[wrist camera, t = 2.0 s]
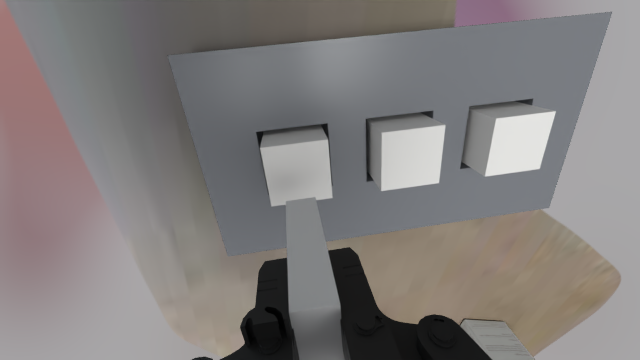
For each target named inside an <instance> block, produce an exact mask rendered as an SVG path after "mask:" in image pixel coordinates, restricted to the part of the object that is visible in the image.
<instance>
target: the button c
mask: <svg viewBox="0 0 640 360" xmlns="http://www.w3.org/2000/svg"><path fill="white" fill-rule="evenodd" d="M555 113H556V111H553V110H549V109H545V108H541V107H537V106H532V105H528V104H524V103H520V102H516V101H509V102H500V103H492V104H484V105H475V106H469V112H468V118H467V125H466V132H465V139H464V146H463V153H462V159H461V162H463V163H464V164H466V165H468V166H469V167H471V168H472V169H474V170H475V171H477V172H478V173H480V174H482V175H483V176H485V177H486V176H493V175H500V174H508V173H515V172H522V171H529V170H536V169H540V166H541V162H542V159H543V155H544V152H545V148H546V145H547V141H548V138H549V134H550V131H551V127H552V124H553V120H554V117H555Z"/></svg>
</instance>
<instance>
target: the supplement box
mask: <svg viewBox="0 0 640 360" xmlns="http://www.w3.org/2000/svg"><path fill="white" fill-rule="evenodd" d="M460 326H461V327H462V328H463V329H464V331H465V332H466V333H467V334H468V335H469V336H470V337H471V338H472V339H473V340H474V341H475V342H476V343H477V344H478V345H479V346H480V347H481V348H482V349H483V350H484V352H485V353H486V354H487V355H488V356H489V357H490V358H491V359H492V360H535V359H534V358H533V357H532V355H531V354H530V353H529V352H528V350H527V349H526V348H525V347H524V346H523V344H522V343H521V342H520V341H519V339H518V338H517V337H516V336H515V334H514V333H513V332H512V331H511V330H510V328H509V327H508V326H507V325H506V323H505V322H503V321H483V320H467V319H465V320H464V321H463V322H462V324H461V325H460Z"/></svg>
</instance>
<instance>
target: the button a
mask: <svg viewBox="0 0 640 360" xmlns="http://www.w3.org/2000/svg"><path fill="white" fill-rule="evenodd" d="M260 150H261V155H262V160H263V166H264V171H265V176H266V181H267V186H268V191H269V197H270V202H271V207H272V206H279V205H286V201H291V200H298V199H305V198H312V197H315V198H316V200H322V199H329V198H333V196H332V184H331V171H330V158H329V145H328V138H327V136H326V134H325V132H324V130H323V128H322V126H321V124H317V125H309V126H300V127H292V128H284V129H275V130H267V131H264V132H263V136H262V141H261V146H260Z"/></svg>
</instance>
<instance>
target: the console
mask: <svg viewBox="0 0 640 360" xmlns="http://www.w3.org/2000/svg"><path fill="white" fill-rule="evenodd" d="M611 14H612V12H605V13H595V14H585V15H575V16H564V17H554V18H544V19H533V20H523V21H513V22H503V23H493V24H482V25H472V26H462V27H452V28H442V29H431V30H421V31H411V32H401V33H390V34H380V35H370V36H360V37H350V38H339V39H329V40H319V41H309V42H299V43H288V44H278V45H268V46H258V47H248V48H237V49H227V50H217V51H207V52H197V53H186V54H176V55H167V56H168V60H169V63H170V66H171V69H172V73H173V76H174V79H175V83H176V86H177V89H178V93H179V96H180V99H181V103H182V106H183V109H184V113H185V116H186V119H187V122H188V126H189V129H190V132H191V136H192V139H193V142H194V146H195V149H196V152H197V156H198V159H199V162H200V165H201V169H202V172H203V175H204V179H205V182H206V185H207V189H208V192H209V195H210V199H211V202H212V205H213V208H214V212H215V215H216V218H217V222H218V225H219V228H220V232H221V235H222V238H223V242H224V245H225V248H226V252H227V255H228V256H234V255H240V254H247V253H254V252H260V251H267V250H273V249H280V248H287V232H286V205H279V206H272V207H271V202H270V197H269V191H268V186H267V181H266V176H265V171H264V166H263V160H262V155H261V150H260V146H261V141H262V136H263V132H264V131H267V130H275V129H284V128H292V127H300V126H309V125H317V124H321V126H322V128H323V130H324V132H325V134H326V136H327V138H328V145H329V158H330V171H331V184H332V196H333V198H329V199H322V200H316V202H317V206H318V211H319V215H320V219H321V224H322V228H323V232H324V236H325V241H333V240H339V239H346V238H353V237H359V236H366V235H372V234H379V233H386V232H392V231H399V230H405V229H412V228H419V227H425V226H432V225H439V224H445V223H452V222H458V221H465V220H472V219H478V218H485V217H491V216H498V215H505V214H511V213H518V212H524V211H531V210H538V209H544V208H549V206H550V203H551V200H552V197H553V194H554V191H555V187H556V185H557V182H558V178H559V175H560V172H561V169H562V166H563V163H564V159H565V157H566V153H567V150H568V147H569V144H570V141H571V138H572V135H573V132H574V129H575V126H576V123H577V120H578V116H579V113H580V110H581V107H582V104H583V101H584V98H585V95H586V92H587V89H588V86H589V83H590V79H591V76H592V73H593V70H594V67H595V64H596V61H597V58H598V55H599V51H600V48H601V45H602V42H603V39H604V36H605V33H606V30H607V27H608V24H609V21H610V17H611ZM509 101H516V102H520V103H524V104H528V105H532V106H537V107H541V108H545V109H549V110H553V111H556V113H555V117H554V120H553V124H552V127H551V131H550V134H549V138H548V141H547V145H546V148H545V152H544V155H543V159H542V162H541V166H540V169H536V170H529V171H522V172H515V173H508V174H500V175H493V176H486V177H485V176H483V175H482V174H480V173H478V172H477V171H475V170H474V169H472V168H471V167H469V166H468V165H466V164H464V163H463V162H461V159H462V153H463V146H464V139H465V132H466V125H467V118H468V112H469V106H475V105H484V104H492V103H500V102H509ZM417 112H420V113H422V114H424V115H426V116H428V117H430V118H432V119H434V120H436V121H439V122H441V123H443V124H445V125H446V126H445V134H444V143H443V152H442V161H441V170H440V179H439V183H436V184H429V185H422V186H415V187H408V188H400V189H393V190H386V191H381V190H380V189H379V187H378V186H377V184H376V183H375V181H374V180H373V178H372V177H371V176H370V174H369V173H368V171H367V170H366V119H367V118H375V117H384V116H392V115H400V114H409V113H417Z"/></svg>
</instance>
